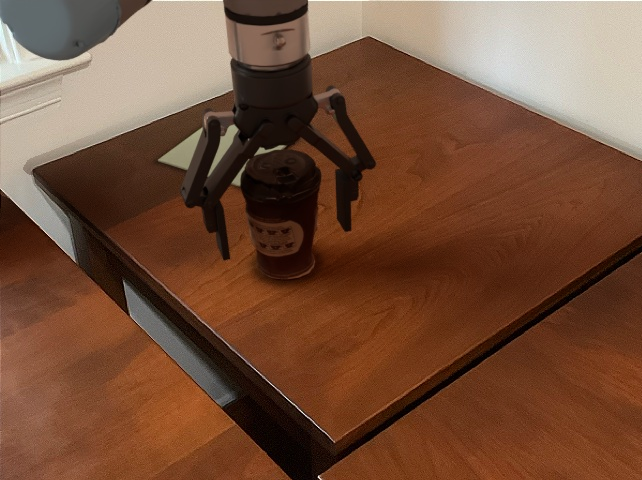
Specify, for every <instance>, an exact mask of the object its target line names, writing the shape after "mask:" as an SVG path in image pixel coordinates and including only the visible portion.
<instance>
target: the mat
mask: <svg viewBox="0 0 642 480" xmlns="http://www.w3.org/2000/svg"><path fill="white" fill-rule="evenodd" d="M202 130H203V126H202V127H201V128H199V129H198V130H197V131H195V132H194V133H193V134H191V135H190V136H188V137H187V138H186V139H184V140H183V141H181V142H180V143H179V144H177V145H176V146H175V147H173V148H172V149H170V150H169V151H168V152H167V153H165V154H163V156H160V158H158V159H157V161H158V163H162V164H165V165H168V166H171V167H175V168H178V169H181V170H184V171H187V170H188V168H189V165H190V162H191V160H192V157H193V154H194V152H195V149H196V146H197V143H198V141H199V138H200V135H201V133H202ZM238 130H239V129H238V128H237V127H236V126H235V125H231V126H229V127H228V129H227V132H226V134H225V136H223V137H222V136H221V138H220V145H219V148H218V151H217V153H216V156H215V158H214V161H213V164H212V166H211V169H210V171H209V174H208V176H207V178H208V177H209V176H210V174H211V173H212V171H213V170H214V168H215V167H216V165H217V164H218V163H219V161H220V160H221V158H222V157H223V155H224V154H225V153H226V151H227V150H228V148H229V147H230V145H231V144H232V142H233V138H234V136H235V134H236V133H237V131H238ZM248 140H249V139H248ZM286 147H287V146H284V145H280V146H278V147H275V148H273V149H269V150H265V149H264V148H259V150H258V151H257V152H256V154H255V155H257V154H262V153H267V152H270V151H273V150H285V148H286ZM255 155H254V156H255ZM248 160H249V159H248ZM246 163H247V162H246ZM245 166H246V164H245V165H244V166H243V168H242V169H241V171H240V172H239V173H238V175H237V176H236V178H235V179H234V180H233V182H232V183H231V185H232V186H235V187H240V178H241V174H242V172H243V171H244V170H245Z"/></svg>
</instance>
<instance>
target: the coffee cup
mask: <svg viewBox="0 0 642 480" xmlns="http://www.w3.org/2000/svg"><path fill="white" fill-rule="evenodd" d="M321 183H322V171H321V169H320V168H319V167H318V166H317V164H316V161H315V159H314V158H312V156H310V155H309V154H308V153H306V152H303V151H301V150H297V149H287V148H286V149H285V148H284V149H283V150H273V151H270V152H267V153H262V154H257V155H255V156H254V157H253V158H251V159H249V160H248V161H247V163H246V166H245V170H244V171H243V172H242V174H241V178H240V190H241V195H242V197H243V199H244V201H245V216H246V221H247V225H248V229H249V230H248V231H249V237H250V240H251V243H252V246H253V247H254V249H255V250H256V264H257V268H258V270H259V271H260V272H261V273H262V274H264V275H265V276H267V277H269V278H271V279H276V280H291V279H298V278H301V277H303V276H306V275H308V274H310V273H311V271H312V270H313V269H314V267H315V263H316V260H315V256H314V254H313V251H312V248H313V245H314V238H315V235H316V232H317V231H318V218H319V204H318V203H319V202H318V200H319V193H320V189H321Z"/></svg>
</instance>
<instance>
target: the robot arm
mask: <svg viewBox="0 0 642 480" xmlns="http://www.w3.org/2000/svg"><path fill="white" fill-rule="evenodd" d="M151 2H153V0H0V20H1V22H2V24H4V25H6V26H7V28H8V29H9V31H10V32H11V34H12V38H13V39H14V40H15V41H16V42H17V44H19V45H20V46H21V47H22V48H24V49H25V50H27V51H28V52H30V53H31V54H33V55H35V56H36V57H37V56H38V57H40V58H43V59H46V60H49V61H50V60H51V61H58V62H60V61H61V62H62V61H69V60H74V59H75V58H78V57H80V56H82V55H83V54H85V53H87V52H88V51H90V50H92V49H93V48H95V47H96V46H98V45H100V44H102V43H105V42H106V41H107V40H108V39H109V38H110V37H111V36H114V34H115V33H116V32H117V30H118V29H119V28H120V27H121V26H122V25H124V24H125V23H126V22H127V21H128V20H129V19H130V18H132V17H133V16H135V14H136V13H138V12H139V11H140V10H141V9H143V8H145V7H146V6H147V5H149V4H150V3H151ZM222 3H223V12H224V18H225V19H224V20H225V29H226V40H227V47H228V54H229V56H230V58H231V59H230V62H229V64H230V65H229V66H230V73H231V82H232V83H231V84H232V91H233V100H234V102H233V106H232V108H231V110H230V111H227V110H226V111H216V112H215V110H214V108H212V107H206V108H204V110H203V111H202V114H201V118H202V121H201V122H202V127H203V130H202V133H201V135H200V138H199V141H198V143H197V146H196V149H195V152H194V154H193V157H192V160H191V162H190V165H189V168H188V170H186V173H185V176H184V179H183V181H182V183H181V185H180V186H181V187H180V190H179V192H180V193H179V194H180V195H181V198H182V201H183V204H184V206H185V207H186V208H187V209H193V208H195V207H197V208H200V209H201V213H202V220H203V224H204V227H205V230H206V231H207V232H208V234H209V235H210V234H213V233H215V238H216V245H217V248H218V250H219V254H220V255H221V258H222V260H223V262H224V261H228V260H231V253H230V252H231V251H230V245H229V238H228V231H227V224H226V223H227V222H226V215H225V211H224V210H225V209H224V206H223V204H222V202H221V199H222V197H223V196H224V195H225V194H226V192H227V190H228V189H229V187H230V186H231V185H232V184H231V183H232V182H233V180H234V179H235V178H236V176H237V175H238V173H239V172H240V171H241V169H242V168H243V166H244V165H245V164H246V162H247V161H248V159H251V158H253V157H254V155H255V154H256V152H257V151H258V150H259V148H264V149H265V150H269V149H273V148H275V147H278V146H280V145H284V146H286V147H288V146H294V145H296V142H298V141H299V140H301V138H302V139H303V140H304V141H305V142H306V143H308V145H310V146H311V147H313V148H315V149H316V150H317V151H318V152H320V153H321V154H322V155H323V156H324V157H325V158H327V159H328V160H329V161H330V162H332V163H333V164H334V165H335V166H336V167H337V168H336V169H335V170H334V173H335V174H334V176H335V207H336V208H335V209H336V221H337V222H338V224H339V225H340V227H341V228H342V230H343V231H344V233H348V232H352V202H356V201H358V200H359V196H360V183H359V182H361V181H362V180H363V177H364V175H363V173H362V172H364V171H366V170H368V171H370V170H371V171H372V170H374V169H375V168H376V166H377V162H376V160H375V158H374V156H373V155H372V154H371V152H370V150H369V148H368V146H367V144H366V143H365V141H364V140H363V138H362V136H361V135H360V133H359V131H358V130H357V129H356V126H355V125H354V124H353V122H352V119H350V117H349V115H348V111H347V102H346V99H345V96H344V95H343V94H342V93H341V92H340V90H339V89H338V88H337V86H335V85H333V84H332V85H329V86H327V87H326V88H325V92H321V93H318V94H315V95H314V93H313V91H314V88H313V87H314V85H313V68H312V56H311V55H310V53H309V52H310V51H311V32H310V15H309V0H222ZM319 109H322V110H323V112H324V113H325V114H326V115H329V116H330V115H331V116H332V117H333V119H334V121H335V122H336V124H337V125H338V128H339V130H340V131H341V132H342V134H343V136H344V137H345V139H346V140H347V142H348V143H349V145H350V147H351V149H352V150H353V152H354V153H355V155H354V156H352V157H350V156H349V155H348V154H347V153H346V152H345V151H343V150H342V149H341V148H340V147H338V145H336V144H335V143H334V142H333V141H331V140H330V139H329V138H328V137H327V136H325V134H323V133H322V132H321V131H320V130H319V129H318V128H316V127H315V126H314V125H313V124H312V123H311V122H312V121H313V120H314V118H315V117H316V115H317V113H318V111H319ZM231 125H235V126H236V127H237V128H238V129H239V130H238V131H237V133H236V134H235V136H234V138H233V142H232V144H231V145H230V147H229V148H228V150H227V151H226V153H225V154H224V155H223V157H222V158H221V160H220V161H219V163H218V164H217V165H216V167H215V168H214V170H213V171H212V173H211V174H210V176H209V177H207V176H208V174H209V171H210V169H211V166H212V164H213V161H214V158H215V156H216V153H217V151H218V148H219V145H220V138H221V136H222V137H223V136H225V134H226V132H227V129H228V127H229V126H231ZM248 139H249V140H248Z"/></svg>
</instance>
